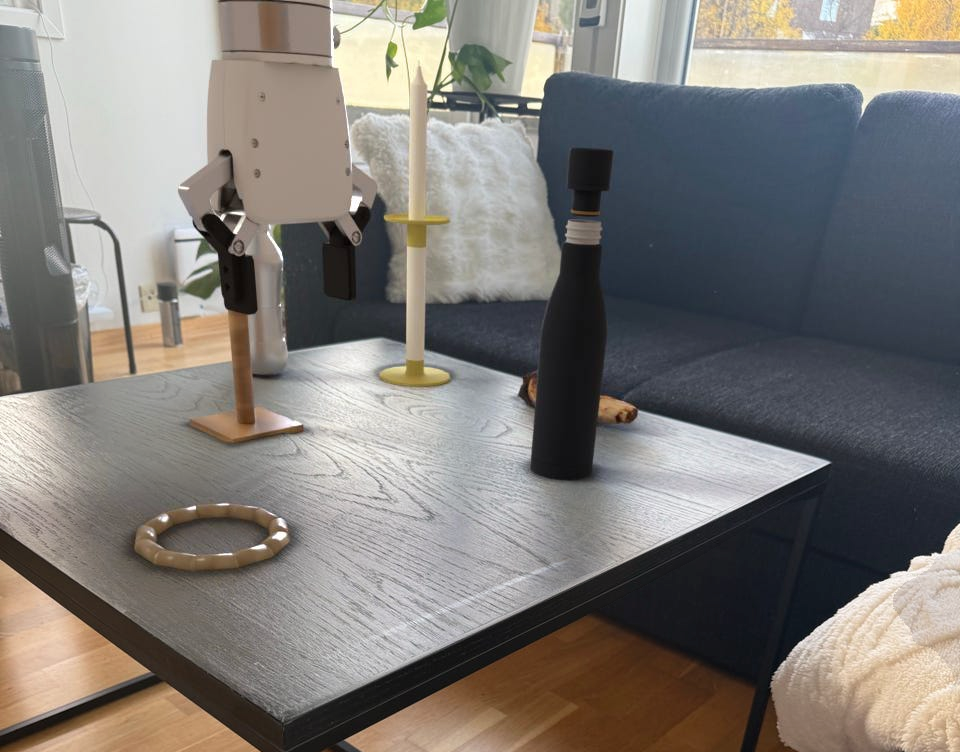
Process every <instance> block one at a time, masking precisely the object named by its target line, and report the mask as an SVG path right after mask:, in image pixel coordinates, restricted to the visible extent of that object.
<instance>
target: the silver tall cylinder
mask: <svg viewBox="0 0 960 752" xmlns="http://www.w3.org/2000/svg"><path fill="white" fill-rule="evenodd" d="M271 230H272V227H271V225H262V224H260V225H259V227H258V229H257V231H256V232H255V234H254V236H253V238H252V240H251V242H250V244H249V246H248V248H247V249H246V251H245V254H246V255H251V256H252V257H253V259H254V267H255V279H256V292H257V305H258V310H257V312H256V314H252V315H248V325H249V339H250V352H251V365H252V375H253V374H255V375H259V376H268V375H274V374H279V373H282V372H284V371H285V369H286V367H287V366H288V359H289V351H288V346H287V342H286V338H285V334H284V324H283V318H282V304H281V302H282V285H283V284H282V283H283V273H284V258H283V253H282V251H281V249H280V248H279V246H278V245H277V243H276V242H275V240H274V239H273V237H272V236H271V235H270V232H269V231H271Z"/></svg>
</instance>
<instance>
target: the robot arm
mask: <svg viewBox="0 0 960 752" xmlns="http://www.w3.org/2000/svg"><path fill="white" fill-rule="evenodd" d="M332 1H333V0H216V2H217V4H216V5H217V18H218V28H219V38H220V51H221V59H212V60H211V64H210V71H209V79H208V87H207V88H208V89H207V103H206V106H207V107H206V157H207V164H206V165H204V166H203V167H202V168H201V169H199V170H197V172H195V173H194V174H192V175H191V176H189V178H187V179H186V180H184V181H183V182H181V183H180V184H179V186H178V188H177V193H178V196H179V198H180V200H181V202H182V204H183V206H184V208H185V209H186V211H187V213H188V215H189V217H191V219H192V220H191V221H192V225H193V228H194V229H195V230H196V231H197V232H198V233H199V235H201V237H203V239H204V240H205V241H206V242H207V243H208V247H209V249H210V250H211V251H212V252H214V253H217V261H218V272H219V282H220V292H221V296H222V298H223V305H224V308H225V309H226V310H227V311H228V310H230V311H234V312H238V313H242V314H246V315H252V314H256V312H257V310H258V305H257V292H256V279H255V267H254V259H253V257H252V256H251V255H246V254H245V251H246V249H247V248H248V246H249V244H250V242H251V240H252V238H253V236H254V234H255V232H256V231H257V229H258V227H259V225H260V224H262V225H270V226H271V225H273V226H274V225H293V224H307V223H308V224H309V223H317V224H318V226H319V227H320V228H321V230H322V232H323V233H324V235H325V236H326V238H327V239H328V241H324V242H322V247H321V252H322V253H321V256H322V258H321V259H322V279H323V281H322V282H323V293H324V295H326V296H327V297H329V298H334V299H338V300H344V301H349V302H350V301H354V300H356V299H357V271H356V268H357V267H356V265H357V264H356V247H358V246H359V245H361V243H362V240H363V234H362V233H363V232H364V231H365V230H364V229H365V228H366V227H367V225H368V223H369V222H370V220H371V215H372V214H371V209H372V208H373V205H374V202H375V198H376V196H377V192H378V189H379V187H378V183H377V181H376V180H375V179H373V178H372V177H371V176H370V175H368V174H367V173H366V172H364V171H363V170H361V169H360V168H359V167H357V165H355V164H353V163H352V150H351V139H350V128H349V119H348V113H347V106H346V105H347V104H346V99H345V94H344V87H343V83H342V82H343V81H342V78H341V73H340V69H339V67H335V63H334V61H335V60H334V59H335V58H334V50H336V49H338V48H339V47H340V44H341V40H342V39H341V33H340V30H339V29H338V28H337V27H335V26H333V11H332V9H333V3H332Z"/></svg>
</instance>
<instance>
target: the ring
mask: <svg viewBox="0 0 960 752" xmlns="http://www.w3.org/2000/svg"><path fill="white" fill-rule="evenodd" d="M209 518H211V519H212V518H232V519H239V520H245V521H246V520H248V521H253V522H254V523H256V524H258V525H260V526H261V527H263V528H265V529H267V530H268V537H267V538H265V540H263V541H262V542H260V544H257V545H254V546H251V547H246V548H244V549H240V550H237V551H234V552H228V553H227V552H226V553H211V554H190V553H184V552H179V551H172V550H168V549H166V548H163V546H161V545H159V544H158V543H157V539H158V538H157V537H158V536H159V535H160V534H162V533H163V532H164V531H166V530H168V529H169V528H170V527H172V526H174V525H177V524H182V523H184V522H185V523H186V522H189V521H193V520H196V519H209ZM290 542H291V537H290V532H289V528H288V524H287V522H286V521H285V519H283V518H281V517H279V516H278V515H276V514H273V512H270V511H268V510H267V509H264V508H262V507H257V506H250V505H249V506H248V505H242V504H236V503H229V502H228V503H210V504H209V503H208V504H207V503H206V504H193V505H188V506H184V507H181V508H177V509H172V510H169V511H165V512H162V513H160V514H158V515H156V516H155V517H153V518H152V519H150V520H149V521H147V522H145V523H144V524H142V525H140V526H139V527H138V528H137V530H136V533H135V540H134V547H133V548H134V551H135V553H137V554H139V555H140V556H141V557H143V558H144V559H145V560H147V561H149V562H150V563H152V564H154V565H155V566H163V567H168V568H174V569H179V570H186V571H191V572H192V571H194V572H196V571H197V572H198V571H211V570H227V569H228V570H229V569H237V568H241V567H245V566H248V565H251V564H254V563H257V562H261V561H263V560H267V559H270V558H273V557H274V556H275V555H277V554H278V553H279V552H280V551H281V550H283V548H285V547H286V546H287V545H288V544H289V543H290Z"/></svg>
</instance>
